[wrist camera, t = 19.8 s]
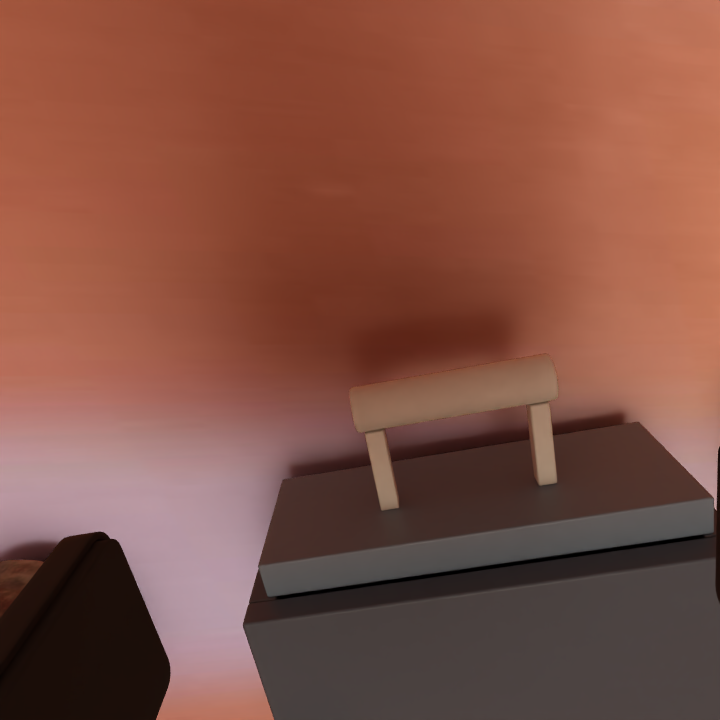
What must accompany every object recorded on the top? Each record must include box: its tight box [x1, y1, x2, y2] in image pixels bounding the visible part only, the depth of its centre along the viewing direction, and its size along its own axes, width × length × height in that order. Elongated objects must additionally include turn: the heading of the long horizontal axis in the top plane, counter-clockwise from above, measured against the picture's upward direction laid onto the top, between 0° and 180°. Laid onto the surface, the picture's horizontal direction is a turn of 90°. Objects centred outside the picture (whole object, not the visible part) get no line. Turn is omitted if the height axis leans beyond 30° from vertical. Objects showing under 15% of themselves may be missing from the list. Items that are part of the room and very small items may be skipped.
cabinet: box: [243, 509, 720, 720], centre depth 21 cm, size 14×14×7 cm
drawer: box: [258, 354, 714, 597], centre depth 20 cm, size 17×13×5 cm
